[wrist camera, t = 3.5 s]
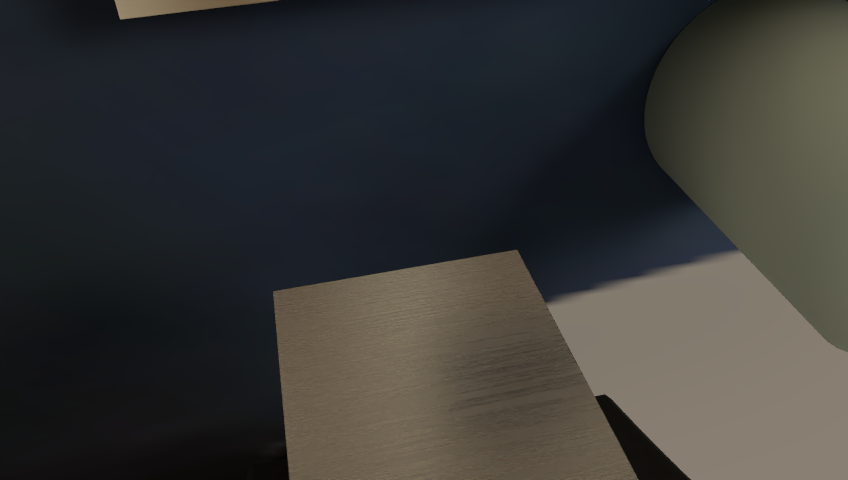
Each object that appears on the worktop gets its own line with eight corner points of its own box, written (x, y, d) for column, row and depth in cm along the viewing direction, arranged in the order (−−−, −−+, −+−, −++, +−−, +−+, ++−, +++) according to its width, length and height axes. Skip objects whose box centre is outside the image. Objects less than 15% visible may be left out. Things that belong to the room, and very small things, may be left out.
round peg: (877, -35, 19) (1151, 73, 14) (825, 170, 23) (1028, 326, 17) (655, -3, 19) (848, 125, 13) (635, 205, 22) (780, 380, 16)
